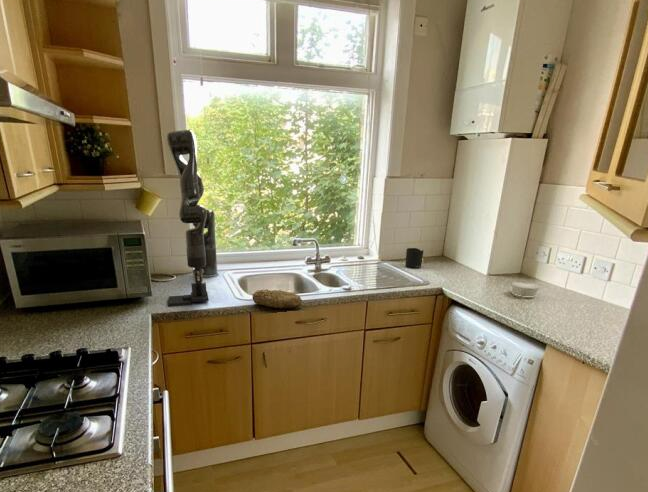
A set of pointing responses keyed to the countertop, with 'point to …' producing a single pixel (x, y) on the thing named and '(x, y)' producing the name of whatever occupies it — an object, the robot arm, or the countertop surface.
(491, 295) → the countertop surface
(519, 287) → the ramekin
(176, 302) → the base pad
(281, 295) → the brown rounded lump
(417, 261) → the pen holder
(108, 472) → the countertop surface
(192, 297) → the joining pad
